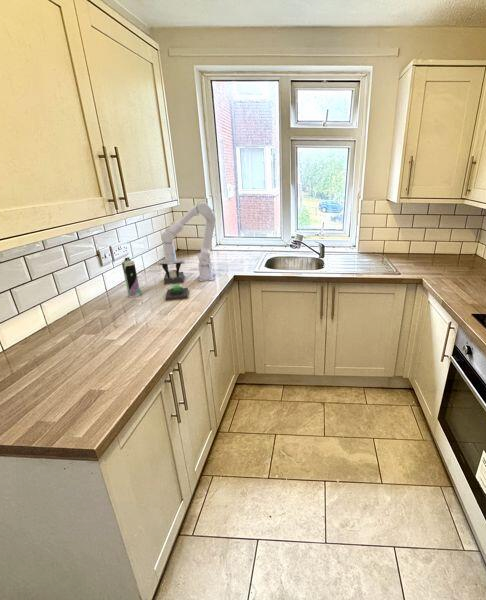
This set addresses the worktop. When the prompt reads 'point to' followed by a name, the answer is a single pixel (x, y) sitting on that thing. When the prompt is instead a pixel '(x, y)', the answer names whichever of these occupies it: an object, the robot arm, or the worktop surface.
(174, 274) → the dial
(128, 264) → the spray can
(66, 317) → the worktop surface
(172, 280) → the control panel
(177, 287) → the button
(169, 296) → the housing
